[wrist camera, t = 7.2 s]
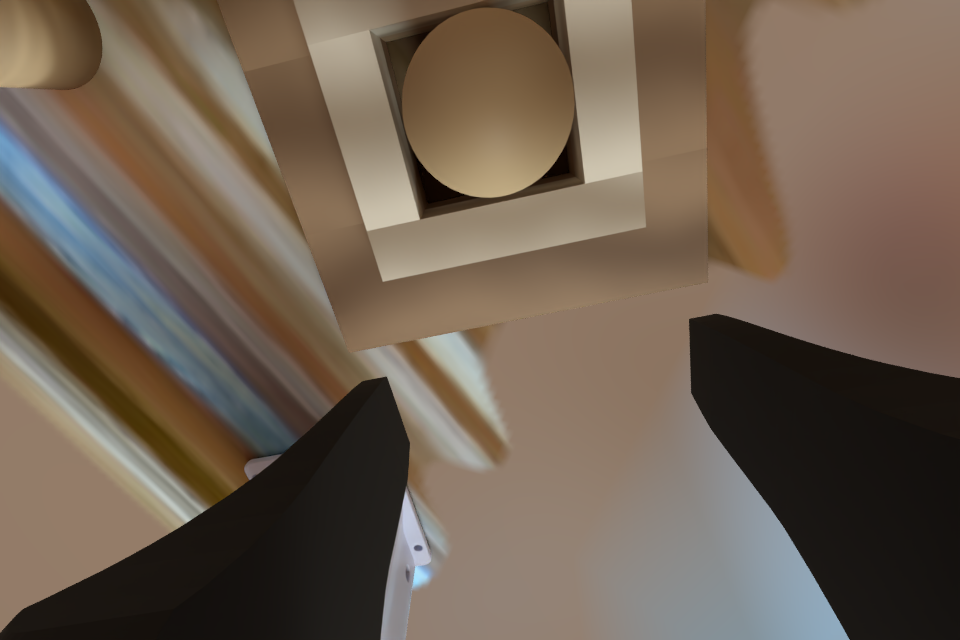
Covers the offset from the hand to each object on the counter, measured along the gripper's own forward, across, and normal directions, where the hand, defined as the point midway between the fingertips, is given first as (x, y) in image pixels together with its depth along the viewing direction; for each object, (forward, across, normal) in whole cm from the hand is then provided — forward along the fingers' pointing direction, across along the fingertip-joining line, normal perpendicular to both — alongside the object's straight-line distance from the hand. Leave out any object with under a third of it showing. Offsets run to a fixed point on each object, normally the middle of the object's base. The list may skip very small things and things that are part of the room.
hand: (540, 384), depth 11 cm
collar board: (+10, 0, -6) cm, 12 cm away
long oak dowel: (+10, 0, -6) cm, 12 cm away
